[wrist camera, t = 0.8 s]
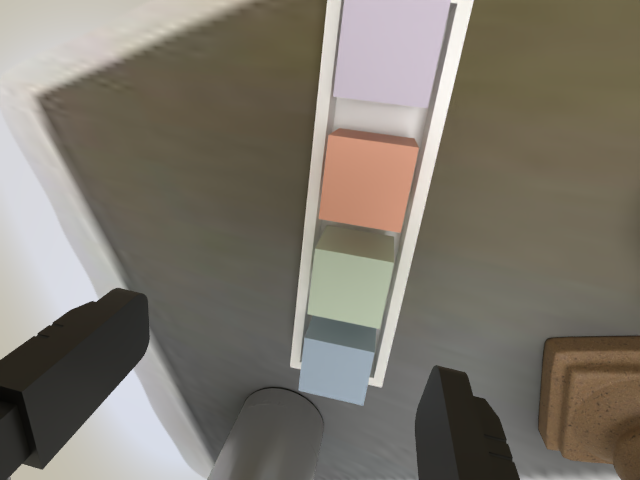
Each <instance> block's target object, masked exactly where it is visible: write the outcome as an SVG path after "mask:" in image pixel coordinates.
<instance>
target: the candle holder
mask: <svg viewBox="0 0 640 480" xmlns="http://www.w3.org/2000/svg"><path fill="white" fill-rule="evenodd" d="M539 432H540V434H541V436H542V439H543V441H544V443H545V445H546V447H547V449H550V450H557V451H560V452H561V454H562V456H563V457H564V458H567V459H570V460H574V461H582V462H593V463H607V464H613V465H614V468H615V470H616V472H617V474H618V476H619V477H620V478H621V480H640V336H603V337H561V338H550V339H547V340H546V342H545V347H544V354H543V365H542V378H541V392H540V405H539Z"/></svg>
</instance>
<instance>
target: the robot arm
mask: <svg viewBox="0 0 640 480" xmlns="http://www.w3.org/2000/svg"><path fill="white" fill-rule="evenodd" d="M149 337H150V336H149V317H148V300H147V297H146V295H145V294H142V293H138V292H133V291H129V290H125V289H121V288H115V289H113V290H111V291H110V292H109V293H107V294H106V295H105V296H103V297H102V298H101V299H99V300H98V301H97V302H93V301H92V302H89V303H87V304H84V305H82V306H79V307H77V308H74V309H72V310H70V311H69V312H67V313H66V314H64V315H63V316H62V317H60V318H59V319H57V320H56V321H54V322H53V324H52V325H51V326H50V325H49V326H47V327H46V328H45V329H43V330H42V331H40V332H39V333H38V335H37V336H36V337H35V336H33V337H32V338H31V339H29V340H28V341H26V342H25V343H24V344H22V345H21V346H19V347H18V348H17V349H15V350H14V351H12V352H11V353H9V354H8V355H7V356H5V357H4V358H3V359H1V360H0V480H11V477H10V476H11V475H12V473H14V471H16V469H17V468H18V467H19V466H20V465H21V464H25V465H28V466H32V467H35V468H39V469H43V468H44V467H45V466H46V465H47V464H48V463H49V462H50V461H51V459H52V458H53V457H54V456H55V455H56V454H57V453H58V452H59V450H60V449H61V448H62V447H63V446H64V445H65V444H66V443H67V441H68V440H69V439H70V438H71V437H72V436H73V435H74V434H75V433H76V431H77V430H78V429H79V428H80V427H81V426H82V425H83V424H84V422H85V421H86V420H87V419H88V418H89V417H90V416H91V415H92V414H93V413H94V411H95V410H96V409H97V408H98V407H99V406H100V405H101V403H102V402H103V401H104V400H105V399H106V398H107V397H108V395H110V393H111V392H112V391H113V390H114V389H115V388H116V387H117V386H118V385H119V383H120V382H121V381H122V380H123V379H124V378H125V377H126V376H127V374H128V373H129V372H130V371H131V370H132V369H133V368H134V367H135V366H136V365H137V363H138V362H139V361H140V360H141V359H142V357H143V356H144V354H145V352H146V350H147V347H148V344H149ZM322 436H323V421H322V417H321V416H320V414H319V412H318V410H317V409H316V408H315V407H314V405H313V404H311V403H310V402H309V401H308V400H307V399H305V398H304V397H302V396H300V395H299V394H296V393H294V392H291V391H288V390H284V389H277V388H269V389H263V390H260V391H257V392H255V393H253V394H252V395H250V396H249V397H248V398H247V400H246V401H245V403H244V405H243V407H242V409H241V411H240V413H239V415H238V417H237V420H236V422H235V424H234V426H233V428H232V430H231V432H230V434H229V436H228V438H227V440H226V442H225V444H224V446H223V448H222V450H221V452H220V454H219V456H218V459H217V461H216V463H215V465H214V467H213V469H212V471H211V473H210V475H209V477H208V479H207V480H313V479H314V474H315V469H316V465H317V460H318V455H319V450H320V446H321V441H322ZM415 439H416V451H417V464H418V476H419V480H520V478H519V475H518V472H517V469H516V466H515V463H514V462H512V458H513V457H512V455H511V452H510V449H509V446H508V444H506V437H505V434H504V431H503V428H502V425H501V422H500V419H499V417H498V416H497V415H496V413H495V412H494V411H493V409H492V408H491V406H490V405H489V404H488V402H487V401H486V400H485V399H483V398H479V397H475V396H473V393H472V390H471V386H470V383H469V379H468V376H467V374H466V373H465V372H462V371H457V370H453V369H449V368H445V367H441V366H437V365H436V366H434V367H433V369H432V371H431V374H430V376H429V379H428V381H427V384H426V387H425V389H424V392H423V395H422V397H421V400H420V403H419V405H418V408H417V413H416V419H415Z"/></svg>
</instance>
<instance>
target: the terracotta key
mask: <svg viewBox="0 0 640 480" xmlns="http://www.w3.org/2000/svg"><path fill="white" fill-rule="evenodd" d="M418 151H419V146H418V144H417V142H416V140H415V138H408V137H401V136H393V135H386V134H379V133H371V132H364V131H357V130H350V129H342V128H339V129H337V130H335V131H334V132H332V133H331V134H329V135H328V143H327V151H326V160H325V168H324V177H323V185H322V194H321V202H320V211H319V219H322V220H328V221H334V222H339V223H345V224H351V225H357V226H363V227H369V228H375V229H381V230H387V231H392V232H398V233H401V229H402V224H403V220H404V215H405V211H406V206H407V201H408V197H409V192H410V188H411V183H412V178H413V174H414V169H415V164H416V160H417V155H418Z"/></svg>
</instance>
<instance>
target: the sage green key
mask: <svg viewBox="0 0 640 480" xmlns="http://www.w3.org/2000/svg"><path fill="white" fill-rule="evenodd" d="M393 266H394V237H393V236H388V235H382V234H376V233H370V232H364V231H359V230H353V229H347V228H341V227H335V226H329V225H327V226H326V228H325V230H324V232H323V234H322V236H321V238H320V240H319V242H318V244H317V246H316V248H315V253H314V262H313V270H312V279H311V287H310V296H309V304H308V313H307V314H309V315H313V316H318V317H323V318H328V319H333V320H338V321H343V322H348V323H352V324H357V325H362V326H367V327H372V328H377V329H380V326H381V321H382V317H383V312H384V308H385V303H386V298H387V294H388V289H389V285H390V280H391V275H392V271H393Z"/></svg>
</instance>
